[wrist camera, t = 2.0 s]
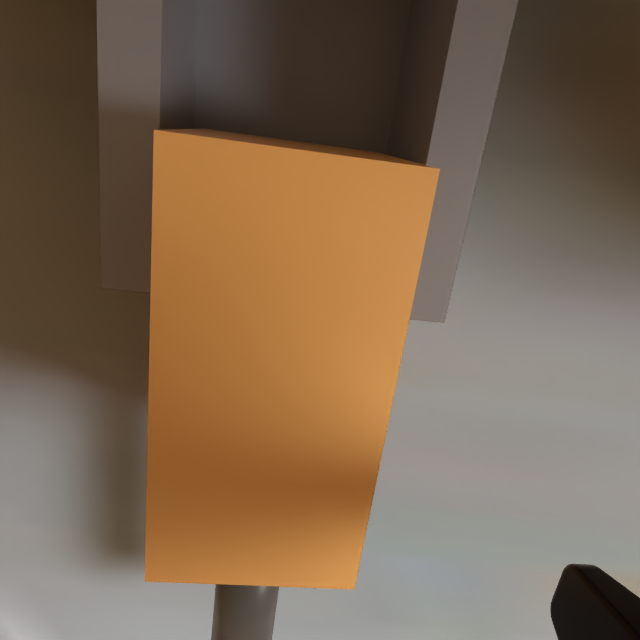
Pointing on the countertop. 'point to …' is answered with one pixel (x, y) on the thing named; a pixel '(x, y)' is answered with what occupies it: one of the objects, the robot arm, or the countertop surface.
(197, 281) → the plug
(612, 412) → the countertop surface
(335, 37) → the socket box
